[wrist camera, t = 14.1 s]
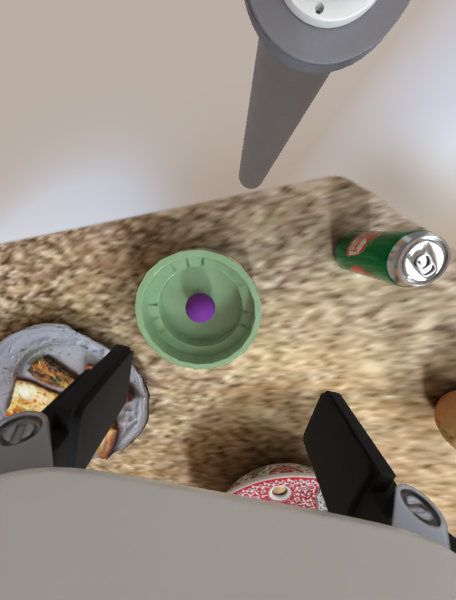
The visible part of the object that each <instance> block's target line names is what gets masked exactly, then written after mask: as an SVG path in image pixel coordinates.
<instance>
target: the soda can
mask: <svg viewBox="0 0 456 600" xmlns="http://www.w3.org/2000/svg"><path fill="white" fill-rule="evenodd" d="M334 255H335V260H336V262H337V264H338V265H339V266H340V267H341V268H343V269H346V270H349V271H352V272H355V273H358V274H362V275H365V276H368V277H371V278H375V279H378V280H381V281H384V282H388V283H391V284H394V285H397V286H401V287H415V286H423V285H427V284H429V283H432V282H433V281H435V280H436V279H438V278H439V277H440V276H441V275H442V274H443V273H444V271H445V270H446V268H447V266H448V264H449V261H450V248H449V246H448V244H447V242H446V241H445V240H444V239H442V238H441V237H438V236H436V235H435V234H433V233H431V232H429V231H425V230H405V231H355V232H350V233H348V234H346V235H344V236H343V237H342V238H341V239H340V240H339V241H338V243H337V245H336V247H335V252H334Z"/></svg>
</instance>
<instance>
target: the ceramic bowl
mask: <svg viewBox="0 0 456 600" xmlns="http://www.w3.org/2000/svg"><path fill="white" fill-rule="evenodd" d="M277 486H284V487H286V488H287V492H286V493H285V494H284V495H280V496H278V495H274V494H273V493H272V490H273V488H275V487H277ZM226 493H230V494H235V495H241V496H246V497H251V498H257V499H262V500H267V501H273V502H278V503H283V504H288V505H293V506H299V507H304V508H309V509H314V510H319V511H324V512H328V510H327V507H326V504H325V501H324V499H323V496H322V493H321V490H320V487H319V484H318V482H317V479H316V476H315V473H314V470H313V468H312V467H309V466H305V465H301V464H294V463H277V464H271V465H266V466H263V467H260V468H257V469H255V470H253V471H251V472H249V473H247V474H246V475H244V476H242V477H241V478H240V479H239V480H237V481H236V482H235V483H234V484H233V485H232V486H231V487H230V488H229V489H228V490H227V492H226Z"/></svg>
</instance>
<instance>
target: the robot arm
mask: <svg viewBox="0 0 456 600" xmlns="http://www.w3.org/2000/svg"><path fill="white" fill-rule="evenodd" d="M376 1H377V0H284V2H285V3H286V5H287V7H288V8H289V9H290V10H291V11H292V12H293V13H294V14H295V16H297V17H298V18H299V19H301V20H302V21H304V22H305V23H307V24H310V25H312V26H315V27H320V28H335V27H340V26H343V25H346V24H348V23H351V22H352V21H354V20H356V19H357V18H359V17H360V16H362V15H363V14H364V13H365V12H366V11H367V10H369V9H370V8H371V7H372V6H373V4H374V3H375V2H376ZM132 360H133V351H130V347H127V346H122V345H116V346H115V347H114V348H113V349H112V350H111V351H110V352H109V353H108V354H107V355H106V356H105V357H104V358H103V359H102V360H100V361H99V362H98V363H97V364H96V365H95V366H94V367H93V368H92V369H86V370H85V371H84V372H83V373H81V374H80V375H79V376H78V377H77V378H76V379H75V380H74V381H73V382H72V383H71V384H70V385H69V386H68V387H67V388H66V389H64V390H63V391H62V392H61V393H60V394H59V395H58V396H57V397H56V398H55V399H54V400H53V401H52V402H51V403H50V404H49V405H47V406H46V407H45V408H44V409H43V410H42V411H41V412H38V411H24V412H19V413H16V414H13V415H10V416H8V417H6V418H4V419H2V420H0V600H456V538H455V537H453V536H452V535H451V534H450V533H448V527H447V523H446V520H445V518H444V517H443V515H442V513H441V512H440V510H439V509H438V508H437V507H436V506H435V504H434V503H433V502H432V501H431V500H430V499H429V498H428V497H426V496H425V495H424V494H423V493H421V492H420V491H418V490H417V489H415V488H413V487H411V486H409V485H406V484H399V485H396V483H395V482H394V478H395V477H396V475H395V474H394V472H393V471H392V469H391V468H390V466H389V465H388V463H387V462H386V460H385V459H384V458H383V456H382V455H381V453H380V452H379V450H378V449H377V447H376V446H375V444H374V443H373V441H372V440H371V439H370V437H369V436H368V434H367V433H366V431H365V430H364V428H363V427H362V425H361V424H360V423H359V421H358V420H357V418H356V417H355V415H354V414H353V412H352V411H351V409H350V408H349V406H348V405H347V404H346V402H345V401H344V399H343V398H342V396H341V395H340V394H339V393H336V392H331V391H326V392H325V393H322V394H321V396H320V398H319V400H318V403H317V405H316V407H315V409H314V412H313V414H312V416H311V419H310V421H309V423H308V426H307V428H306V430H305V433H304V436H303V441H304V445H305V448H306V450H307V453H308V456H309V459H310V462H311V465H312V467H313V470H314V473H315V476H316V479H317V482H318V484H319V487H320V490H321V493H322V496H323V499H324V501H325V504H326V507H327V510H328V512H324V511H319V510H314V509H309V508H304V507H299V506H293V505H288V504H283V503H278V502H273V501H267V500H262V499H257V498H251V497H246V496H241V495H235V494H230V493H224V492H219V491H214V490H208V489H203V488H197V487H192V486H186V485H181V484H175V483H169V482H164V481H158V480H153V479H147V478H142V477H136V476H129V475H123V474H117V473H111V472H104V471H98V470H90V469H86V467H87V465H88V464H89V462H90V460H91V459H92V457H93V456H94V454H95V452H96V451H97V449H98V447H99V446H100V444H101V443H102V441H103V439H104V438H105V436H106V434H107V433H108V431H109V430H110V428H111V426H112V425H113V423H114V421H115V420H116V418H117V417H118V415H119V413H120V412H121V410H122V408H123V407H124V405H125V403H126V400H127V395H128V388H129V381H130V374H131V367H132Z"/></svg>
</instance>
